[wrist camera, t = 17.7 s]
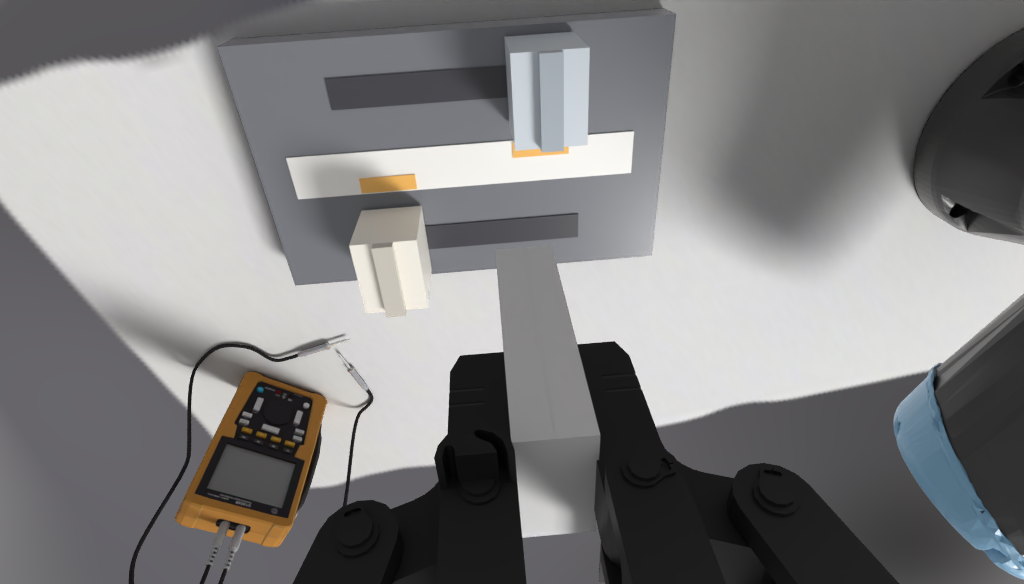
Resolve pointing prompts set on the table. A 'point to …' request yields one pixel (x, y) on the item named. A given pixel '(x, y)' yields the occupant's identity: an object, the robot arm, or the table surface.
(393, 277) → the cream tab
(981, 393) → the robot arm
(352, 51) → the switch board
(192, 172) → the table surface
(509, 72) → the cube with side tab
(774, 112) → the table surface
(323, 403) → the multimeter
